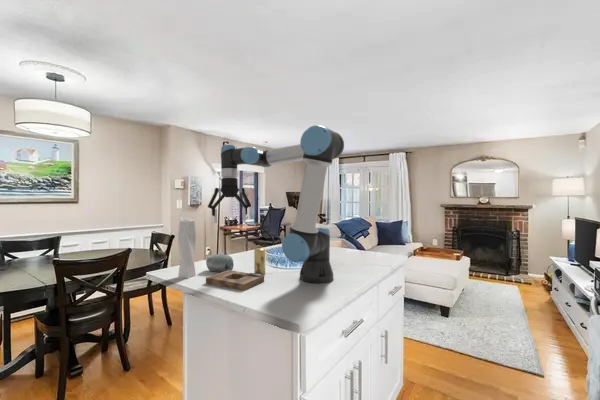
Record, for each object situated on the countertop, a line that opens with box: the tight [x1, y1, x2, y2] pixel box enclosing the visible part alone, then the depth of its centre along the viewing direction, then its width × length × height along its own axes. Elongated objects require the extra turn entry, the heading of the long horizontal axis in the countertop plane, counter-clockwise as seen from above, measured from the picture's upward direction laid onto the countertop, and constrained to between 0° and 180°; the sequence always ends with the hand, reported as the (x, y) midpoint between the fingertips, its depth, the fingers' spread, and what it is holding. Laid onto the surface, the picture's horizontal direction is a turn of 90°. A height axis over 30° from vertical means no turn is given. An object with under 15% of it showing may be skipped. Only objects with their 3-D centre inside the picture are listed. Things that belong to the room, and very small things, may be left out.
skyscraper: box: [177, 215, 197, 279], centre depth 133 cm, size 8×8×28 cm
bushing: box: [253, 247, 266, 277], centre depth 136 cm, size 5×5×12 cm
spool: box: [205, 253, 235, 273], centre depth 142 cm, size 14×10×10 cm
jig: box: [205, 270, 265, 291], centre depth 124 cm, size 20×14×3 cm
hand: (230, 222), depth 139 cm, fingers open, 13 cm apart
